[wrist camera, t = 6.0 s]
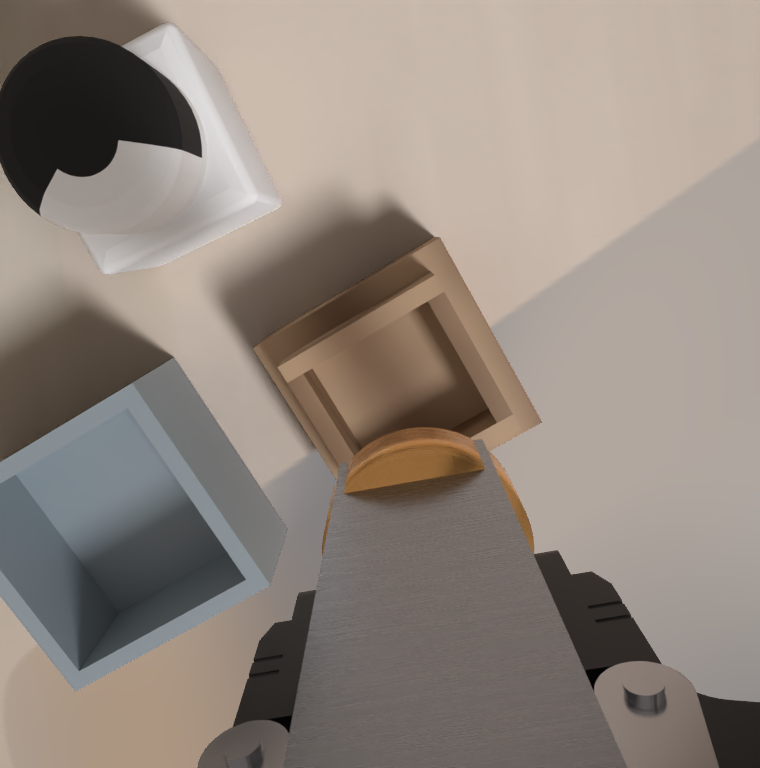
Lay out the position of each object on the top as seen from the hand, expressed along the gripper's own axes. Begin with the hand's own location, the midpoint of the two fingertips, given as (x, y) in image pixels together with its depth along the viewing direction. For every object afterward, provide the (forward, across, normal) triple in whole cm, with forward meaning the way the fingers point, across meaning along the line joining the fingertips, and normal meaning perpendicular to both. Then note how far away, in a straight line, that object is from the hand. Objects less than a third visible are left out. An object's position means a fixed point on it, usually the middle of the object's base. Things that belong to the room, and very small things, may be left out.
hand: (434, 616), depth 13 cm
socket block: (+22, 0, 0) cm, 22 cm away
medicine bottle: (+23, +9, -12) cm, 27 cm away
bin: (+22, +15, +4) cm, 27 cm away
